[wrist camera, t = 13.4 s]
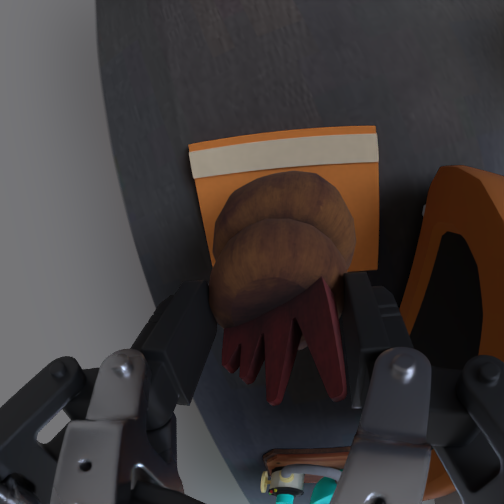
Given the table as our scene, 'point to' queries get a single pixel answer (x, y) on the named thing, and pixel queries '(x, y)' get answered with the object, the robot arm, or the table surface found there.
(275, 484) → the contraption on wooden base
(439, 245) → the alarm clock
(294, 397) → the table surface
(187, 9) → the table surface
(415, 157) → the table surface
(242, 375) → the wooden figurine
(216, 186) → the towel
